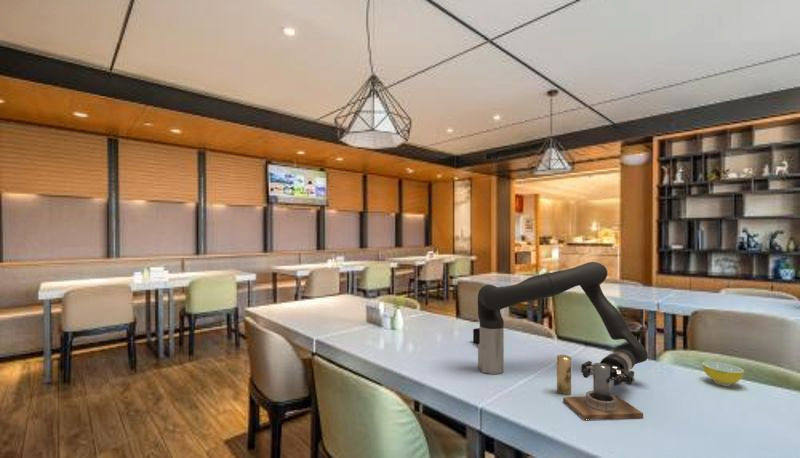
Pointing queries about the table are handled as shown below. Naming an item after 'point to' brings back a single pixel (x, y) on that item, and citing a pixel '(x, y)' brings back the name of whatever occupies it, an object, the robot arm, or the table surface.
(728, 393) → the table surface
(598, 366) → the steel peg
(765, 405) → the table surface
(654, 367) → the table surface
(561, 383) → the brass peg
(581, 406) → the socket board
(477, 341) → the digital camera
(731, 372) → the bowl
